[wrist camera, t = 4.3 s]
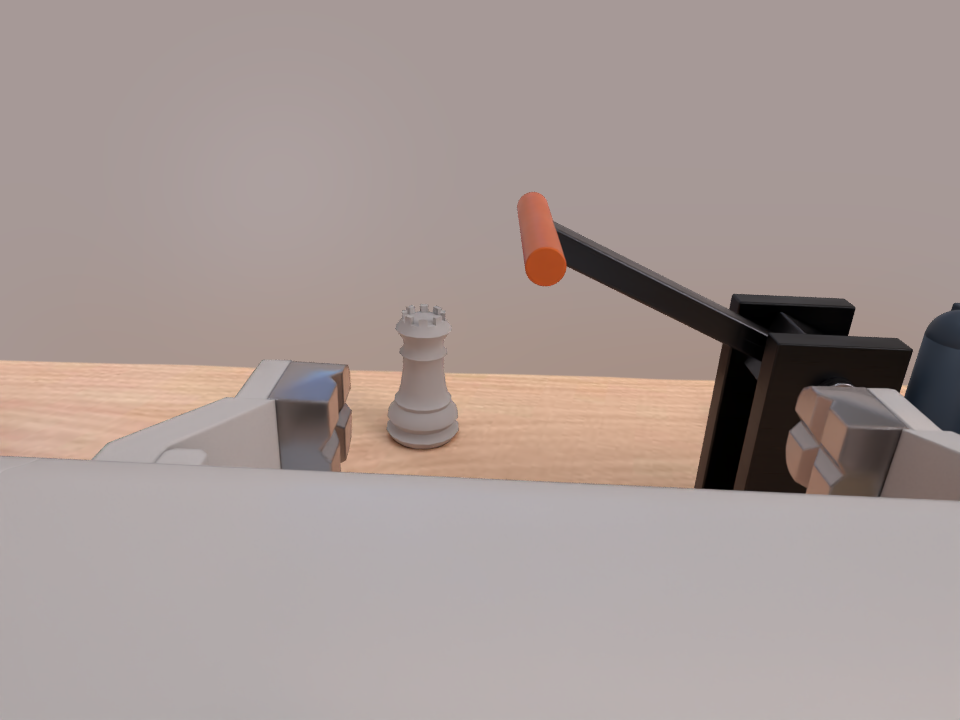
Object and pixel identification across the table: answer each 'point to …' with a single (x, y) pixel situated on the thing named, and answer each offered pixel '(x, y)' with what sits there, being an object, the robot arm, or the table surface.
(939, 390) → the kettle
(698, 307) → the switch
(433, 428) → the rook chess piece
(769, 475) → the switch bracket
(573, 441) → the table surface
